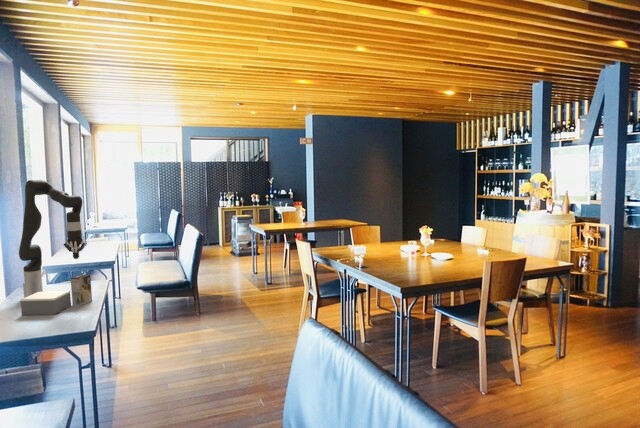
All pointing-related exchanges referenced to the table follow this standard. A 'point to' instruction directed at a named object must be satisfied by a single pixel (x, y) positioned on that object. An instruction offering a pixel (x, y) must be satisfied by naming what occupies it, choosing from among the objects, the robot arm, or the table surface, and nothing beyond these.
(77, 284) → the coffee box
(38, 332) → the table surface
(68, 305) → the box
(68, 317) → the table surface
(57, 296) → the lid
